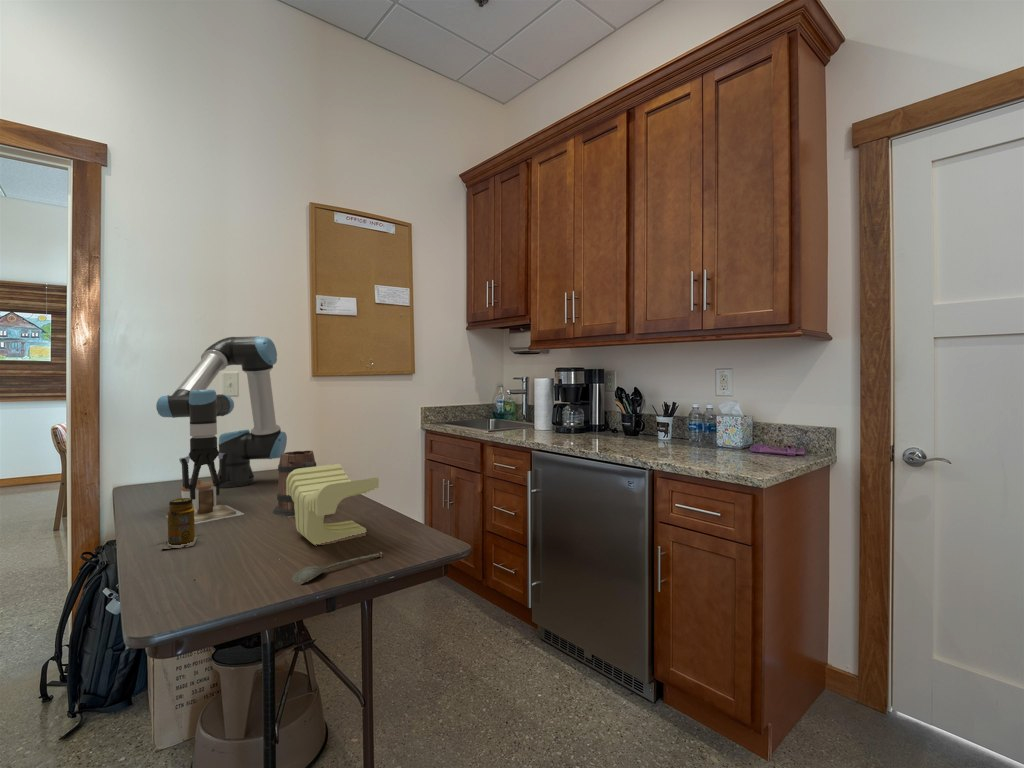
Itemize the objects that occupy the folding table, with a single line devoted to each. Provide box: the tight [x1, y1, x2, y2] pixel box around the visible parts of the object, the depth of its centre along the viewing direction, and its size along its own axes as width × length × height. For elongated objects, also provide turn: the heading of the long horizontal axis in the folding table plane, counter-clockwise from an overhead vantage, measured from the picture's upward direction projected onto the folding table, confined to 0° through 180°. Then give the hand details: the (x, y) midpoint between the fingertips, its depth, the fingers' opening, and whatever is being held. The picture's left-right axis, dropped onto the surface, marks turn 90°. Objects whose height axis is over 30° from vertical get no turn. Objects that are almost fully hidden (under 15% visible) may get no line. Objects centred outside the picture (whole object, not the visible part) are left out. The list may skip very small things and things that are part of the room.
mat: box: [165, 505, 245, 525], centre depth 160 cm, size 18×18×1 cm
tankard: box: [272, 450, 317, 516], centre depth 163 cm, size 24×17×20 cm
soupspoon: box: [291, 551, 383, 583], centre depth 113 cm, size 22×3×7 cm
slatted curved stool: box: [286, 463, 380, 546], centre depth 137 cm, size 30×16×18 cm, turn 38°
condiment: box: [167, 497, 196, 545], centre depth 132 cm, size 7×8×12 cm
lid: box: [194, 489, 236, 522], centre depth 160 cm, size 14×14×8 cm
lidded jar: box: [180, 479, 214, 508], centre depth 174 cm, size 11×11×9 cm
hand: (205, 507), depth 160 cm, fingers closed on lid, 4 cm apart
